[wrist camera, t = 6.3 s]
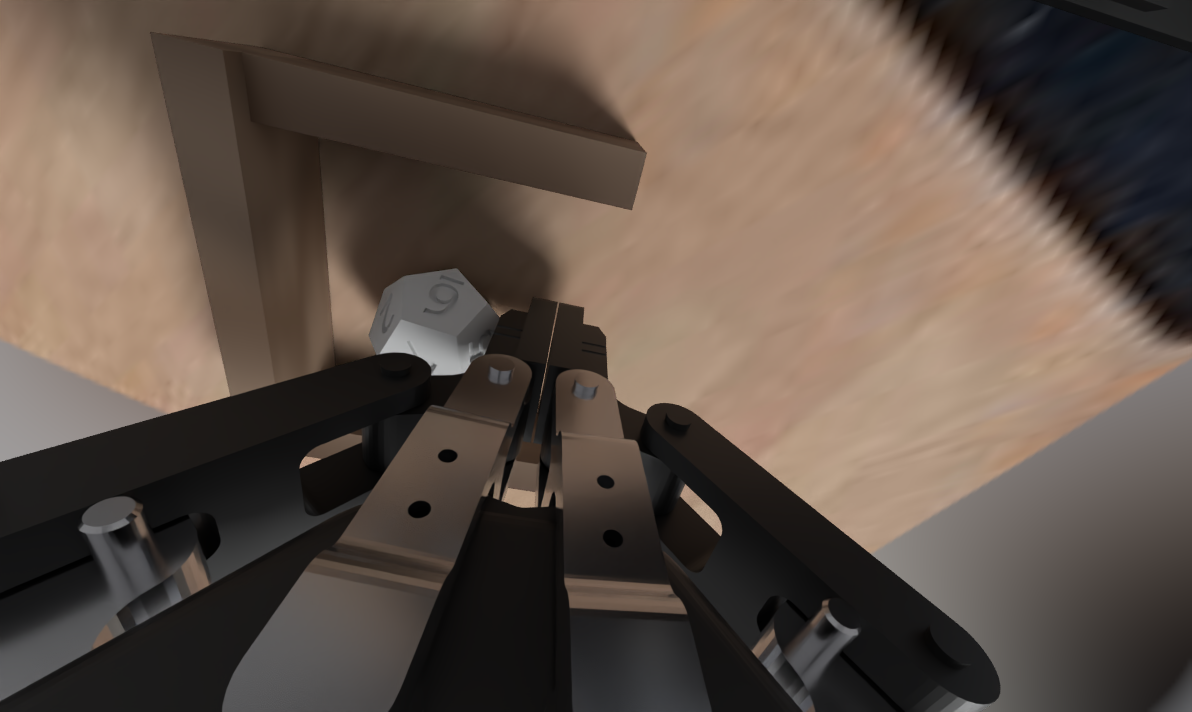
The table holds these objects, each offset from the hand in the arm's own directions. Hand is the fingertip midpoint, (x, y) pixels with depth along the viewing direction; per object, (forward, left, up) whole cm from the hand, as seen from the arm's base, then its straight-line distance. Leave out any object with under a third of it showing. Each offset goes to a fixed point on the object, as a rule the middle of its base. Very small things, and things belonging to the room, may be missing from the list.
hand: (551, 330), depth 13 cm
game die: (0, -3, -1) cm, 3 cm away
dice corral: (0, -3, -1) cm, 3 cm away
